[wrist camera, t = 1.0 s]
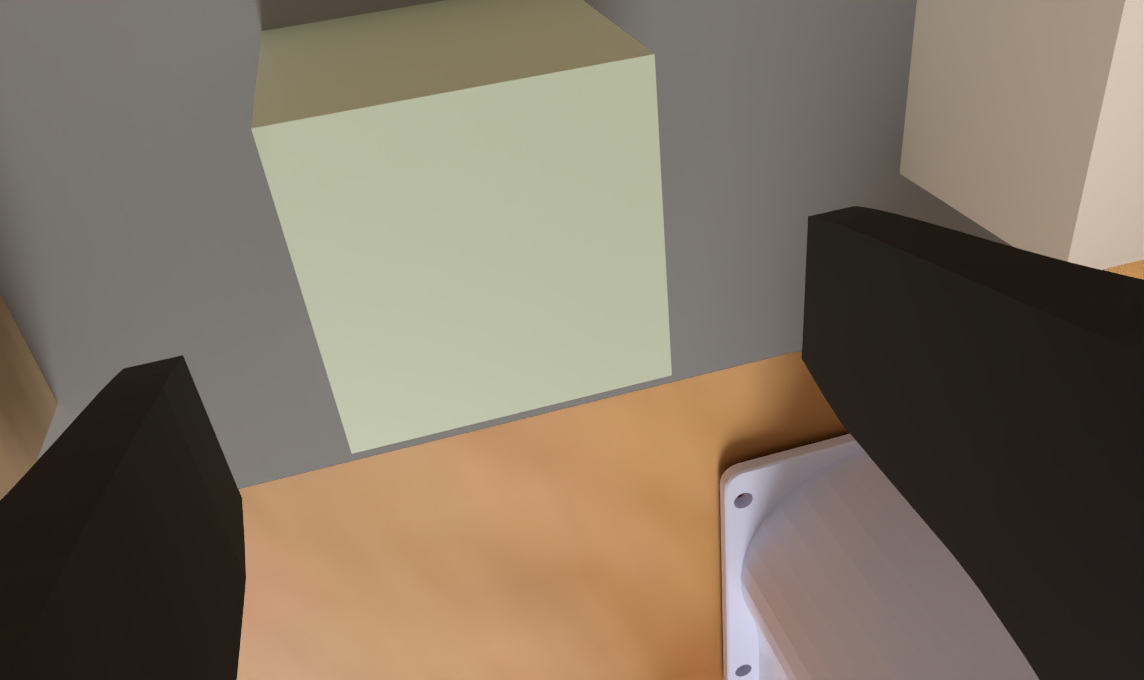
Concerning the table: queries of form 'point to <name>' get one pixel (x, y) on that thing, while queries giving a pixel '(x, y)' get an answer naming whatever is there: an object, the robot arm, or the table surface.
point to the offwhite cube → (1033, 122)
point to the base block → (20, 404)
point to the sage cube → (468, 207)
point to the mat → (256, 240)
